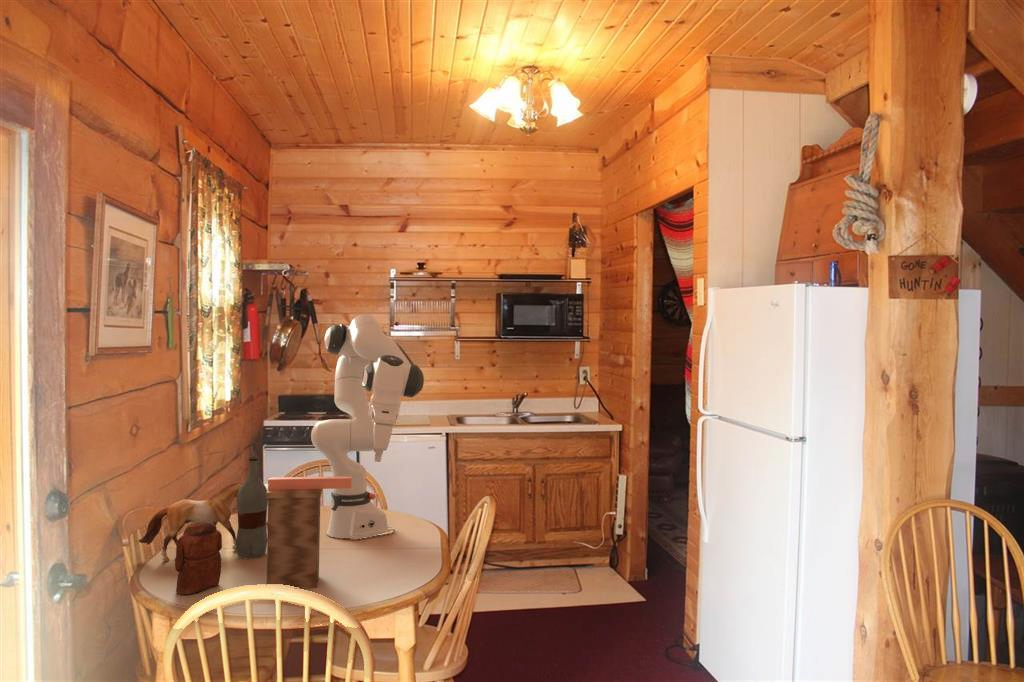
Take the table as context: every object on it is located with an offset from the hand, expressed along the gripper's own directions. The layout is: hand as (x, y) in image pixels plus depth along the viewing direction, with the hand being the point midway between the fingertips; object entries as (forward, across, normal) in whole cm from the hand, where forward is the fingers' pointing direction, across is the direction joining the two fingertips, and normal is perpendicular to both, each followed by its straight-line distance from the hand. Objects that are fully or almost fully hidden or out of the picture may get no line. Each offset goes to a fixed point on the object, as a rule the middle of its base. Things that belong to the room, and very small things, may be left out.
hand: (376, 456), depth 221 cm
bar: (+7, +14, -18) cm, 23 cm away
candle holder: (+44, -52, -32) cm, 75 cm away
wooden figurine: (+36, +18, -43) cm, 59 cm away
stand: (+33, +17, -18) cm, 41 cm away
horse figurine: (+41, -15, -49) cm, 66 cm away
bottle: (+38, -10, -32) cm, 51 cm away
